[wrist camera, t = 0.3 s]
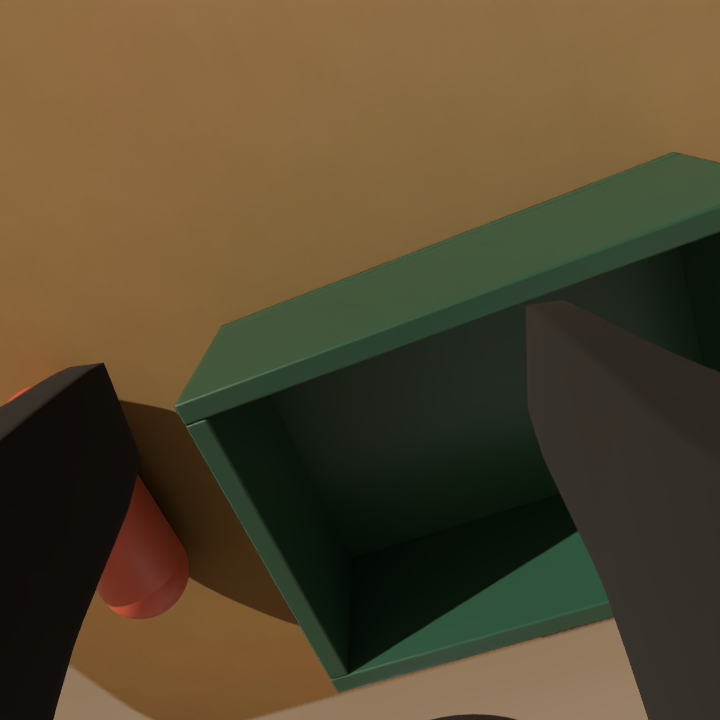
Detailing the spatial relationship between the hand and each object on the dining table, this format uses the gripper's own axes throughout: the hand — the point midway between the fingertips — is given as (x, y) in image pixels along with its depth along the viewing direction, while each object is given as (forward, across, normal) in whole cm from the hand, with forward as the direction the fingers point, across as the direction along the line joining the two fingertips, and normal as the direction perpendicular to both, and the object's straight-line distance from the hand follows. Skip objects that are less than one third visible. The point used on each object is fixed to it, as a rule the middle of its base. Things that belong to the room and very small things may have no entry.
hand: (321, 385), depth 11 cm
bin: (+8, -4, +6) cm, 11 cm away
